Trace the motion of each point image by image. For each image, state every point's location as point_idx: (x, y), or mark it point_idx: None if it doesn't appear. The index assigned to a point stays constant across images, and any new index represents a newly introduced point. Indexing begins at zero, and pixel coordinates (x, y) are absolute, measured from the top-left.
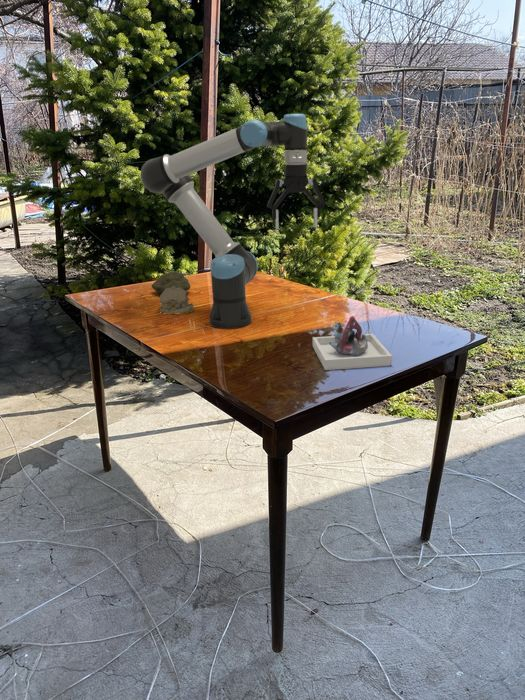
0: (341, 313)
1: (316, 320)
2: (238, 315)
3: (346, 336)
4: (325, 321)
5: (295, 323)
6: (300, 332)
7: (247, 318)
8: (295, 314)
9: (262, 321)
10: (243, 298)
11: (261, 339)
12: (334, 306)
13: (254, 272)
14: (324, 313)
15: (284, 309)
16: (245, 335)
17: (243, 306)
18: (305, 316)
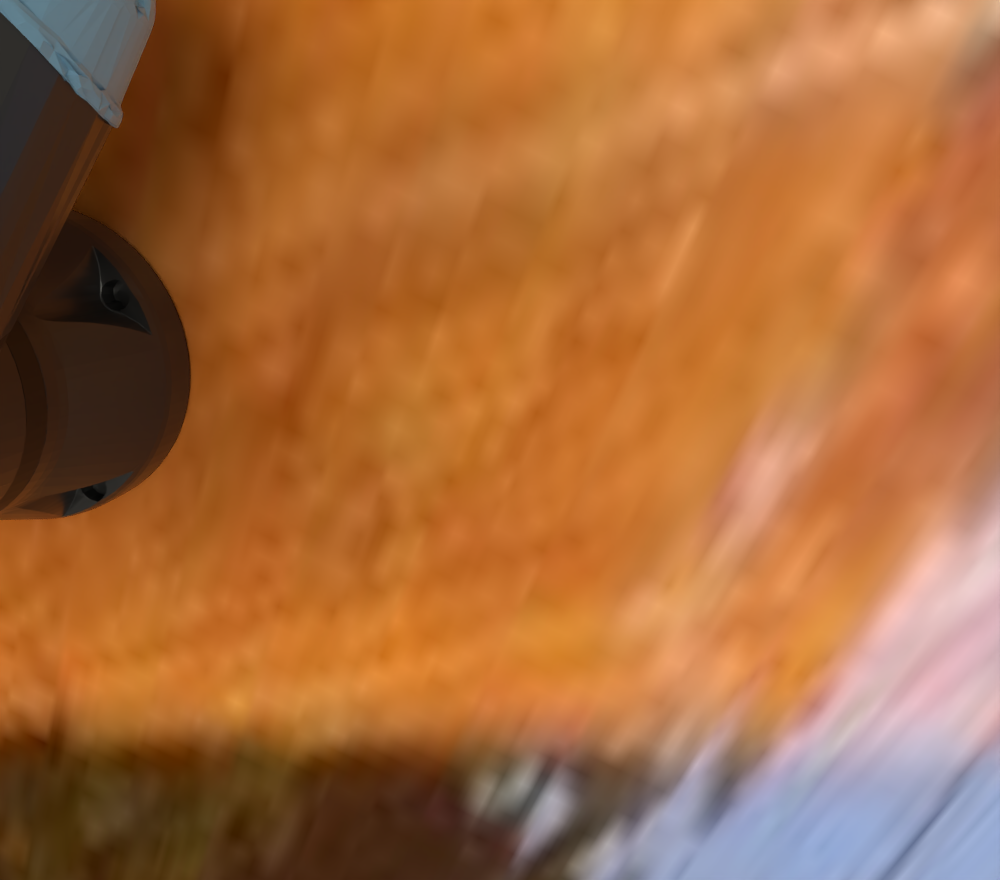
0: (900, 525)
1: (631, 592)
2: (30, 517)
3: None
4: (681, 640)
5: (464, 584)
6: (426, 756)
7: (119, 489)
8: (547, 387)
9: (261, 439)
10: (6, 501)
11: (170, 756)
12: (964, 318)
13: (78, 166)
14: (774, 465)
15: (517, 213)
16: (96, 652)
17: (42, 496)
18: (598, 469)
